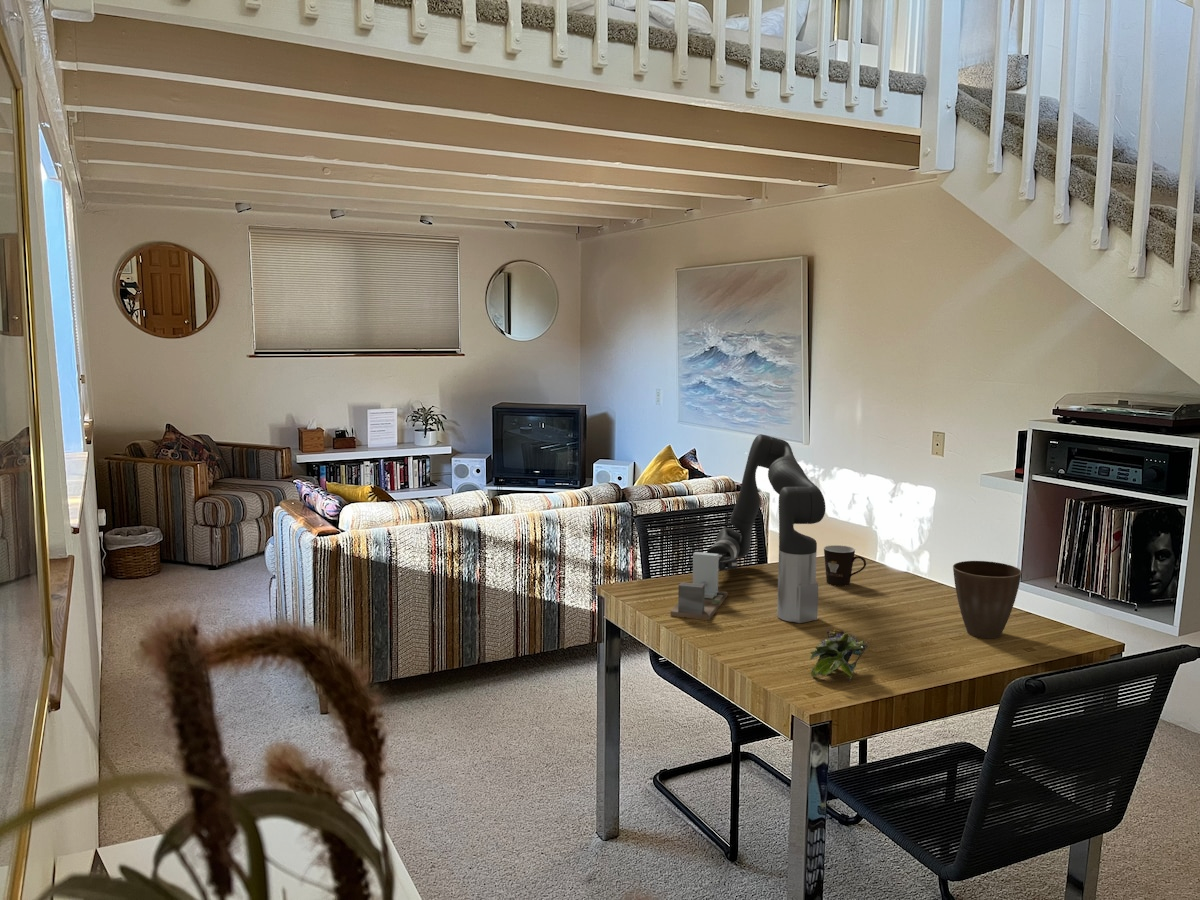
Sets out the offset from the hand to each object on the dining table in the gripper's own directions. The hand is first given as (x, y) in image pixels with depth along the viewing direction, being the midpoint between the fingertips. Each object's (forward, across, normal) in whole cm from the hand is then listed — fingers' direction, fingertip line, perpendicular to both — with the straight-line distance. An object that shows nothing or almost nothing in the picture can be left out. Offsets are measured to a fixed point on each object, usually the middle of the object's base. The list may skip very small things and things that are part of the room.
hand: (708, 569), depth 247 cm
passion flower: (+47, +39, +8) cm, 61 cm away
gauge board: (+9, 0, +8) cm, 12 cm away
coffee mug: (-24, +33, +8) cm, 42 cm away
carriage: (+6, +1, +6) cm, 8 cm away
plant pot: (+8, +69, +8) cm, 70 cm away
